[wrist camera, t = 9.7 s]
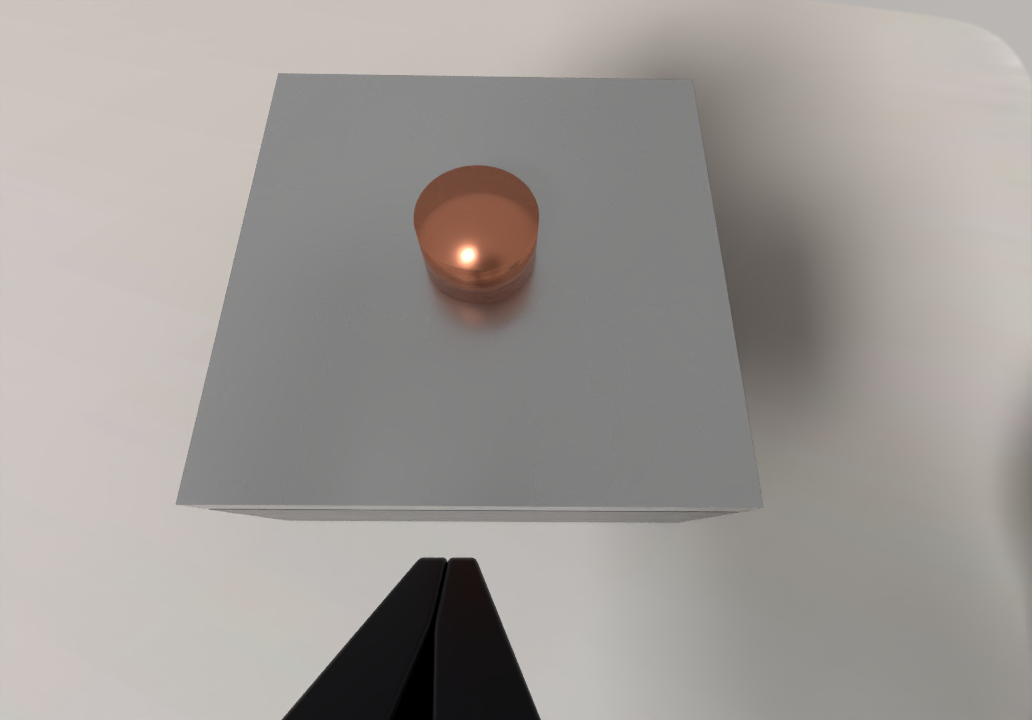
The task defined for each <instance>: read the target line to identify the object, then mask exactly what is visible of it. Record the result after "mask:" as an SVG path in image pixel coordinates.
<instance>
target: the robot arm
mask: <svg viewBox="0 0 1032 720" xmlns="http://www.w3.org/2000/svg"><path fill="white" fill-rule="evenodd" d="M282 720H541V719H540V717H539V714H538V712H537V709H536V707H535V704H534V702H533V699H532V697H531V694H530V692H529V689H528V687H527V684H526V682H525V679H524V677H523V674H522V672H521V669H520V667H519V664H518V662H517V659H516V657H515V654H514V652H513V649H512V647H511V644H510V642H509V639H508V637H507V635H506V632H505V630H504V627H503V625H502V622H501V620H500V617H499V615H498V612H497V610H496V607H495V605H494V602H493V600H492V597H491V595H490V592H489V590H488V587H487V585H486V582H485V580H484V577H483V575H482V572H481V570H480V567H479V565H478V563H477V561H476V559H474V558H451V559H449V561H448V562H447V560H446V559H445V558H421V559H419V560H418V561H417V562H416V563H415V564H414V565H413V567H412V568H411V569H410V570H409V571H408V572H407V574H406V575H405V576H404V577H403V578H402V579H401V581H400V582H399V583H398V584H397V585H396V586H395V588H394V589H393V590H392V591H391V592H390V593H389V595H388V596H387V597H386V598H385V599H384V600H383V602H382V603H381V604H380V605H379V606H378V607H377V609H376V610H375V611H374V612H373V613H372V615H371V616H370V617H369V618H368V619H367V620H366V622H365V623H364V624H363V625H362V626H361V627H360V629H359V630H358V631H357V632H356V633H355V634H354V636H353V637H352V638H351V639H350V640H349V641H348V643H347V644H346V645H345V646H344V647H343V648H342V650H341V651H340V652H339V653H338V654H337V655H336V657H335V658H334V659H333V660H332V661H331V663H330V664H329V665H328V666H327V667H326V668H325V670H324V671H323V672H322V673H321V674H320V675H319V677H318V678H317V679H316V680H315V681H314V682H313V684H312V685H311V686H310V687H309V688H308V689H307V691H306V692H305V693H304V694H303V695H302V696H301V698H300V699H299V700H298V701H297V702H296V704H295V705H294V706H293V707H292V708H291V709H290V711H289V712H288V713H287V714H286V715H285V716H284V718H283V719H282Z"/></svg>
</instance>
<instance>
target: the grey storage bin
mask: <svg viewBox="0 0 1032 720" xmlns="http://www.w3.org/2000/svg"><path fill="white" fill-rule="evenodd" d="M210 510H217V511H224V512H231V513H238V514H245V515H252V516H260V517H267V518H274V519H281V520H309V521H502V522H684V521H690V520H696V519H702V518H708V517H714V516H719V515H725V514H731V513H737V512H719V511H535V510H351V509H210Z"/></svg>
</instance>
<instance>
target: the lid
mask: <svg viewBox="0 0 1032 720" xmlns="http://www.w3.org/2000/svg"><path fill="white" fill-rule="evenodd" d="M176 505H182V506H189V507H196V508H203V509H351V510H535V511H719V512H742V511H748V510H754V509H760V508H763V502H762V496H761V490H760V484H759V478H758V472H757V466H756V460H755V454H754V448H753V442H752V436H751V430H750V424H749V418H748V412H747V406H746V400H745V394H744V388H743V382H742V376H741V370H740V364H739V358H738V352H737V346H736V340H735V334H734V328H733V322H732V315H731V309H730V303H729V297H728V291H727V285H726V279H725V273H724V267H723V261H722V255H721V249H720V243H719V237H718V231H717V225H716V219H715V213H714V207H713V201H712V195H711V189H710V183H709V177H708V171H707V165H706V159H705V153H704V147H703V141H702V134H701V128H700V122H699V116H698V110H697V104H696V98H695V92H694V86H693V80H675V79H610V78H544V77H479V76H414V75H349V74H284V73H278V77H277V81H276V85H275V90H274V94H273V98H272V102H271V106H270V111H269V115H268V119H267V123H266V127H265V132H264V136H263V140H262V144H261V148H260V153H259V157H258V161H257V165H256V169H255V174H254V178H253V182H252V186H251V190H250V195H249V199H248V203H247V207H246V211H245V216H244V220H243V224H242V228H241V232H240V237H239V241H238V245H237V249H236V253H235V258H234V262H233V266H232V270H231V274H230V279H229V283H228V287H227V291H226V295H225V300H224V304H223V308H222V312H221V316H220V321H219V325H218V329H217V333H216V337H215V342H214V346H213V350H212V354H211V358H210V363H209V367H208V371H207V375H206V379H205V384H204V388H203V392H202V396H201V400H200V405H199V409H198V413H197V417H196V421H195V426H194V430H193V434H192V438H191V442H190V447H189V451H188V455H187V459H186V463H185V468H184V472H183V476H182V480H181V484H180V489H179V493H178V497H177V501H176Z"/></svg>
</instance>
